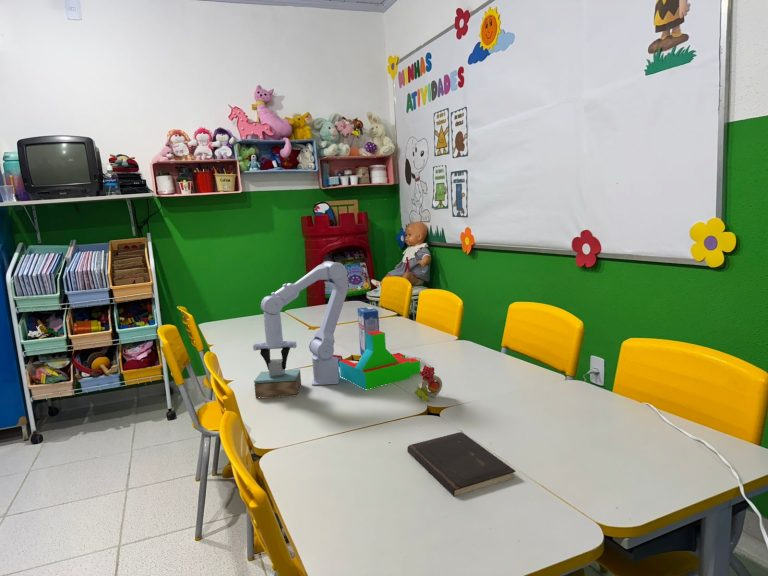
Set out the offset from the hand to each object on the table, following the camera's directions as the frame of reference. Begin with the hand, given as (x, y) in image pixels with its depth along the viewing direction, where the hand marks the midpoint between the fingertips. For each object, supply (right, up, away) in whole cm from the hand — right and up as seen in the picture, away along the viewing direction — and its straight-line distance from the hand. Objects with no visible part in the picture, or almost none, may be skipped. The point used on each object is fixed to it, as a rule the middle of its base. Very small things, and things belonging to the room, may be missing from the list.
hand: (277, 368), depth 178 cm
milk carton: (+32, -1, +38) cm, 49 cm away
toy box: (+1, -8, +1) cm, 8 cm away
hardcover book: (+55, -15, -56) cm, 80 cm away
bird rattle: (+52, -8, -13) cm, 54 cm away
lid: (0, -3, 0) cm, 3 cm away
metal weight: (0, -2, 0) cm, 2 cm away
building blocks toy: (+37, -5, +12) cm, 39 cm away
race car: (+15, -3, +28) cm, 32 cm away
